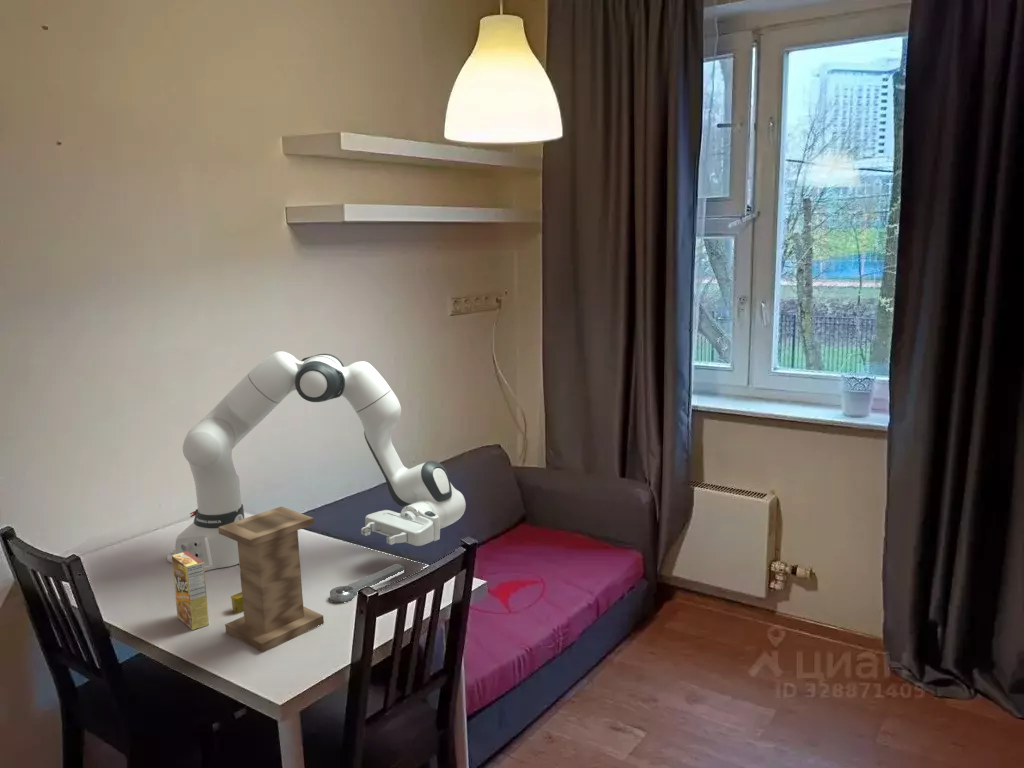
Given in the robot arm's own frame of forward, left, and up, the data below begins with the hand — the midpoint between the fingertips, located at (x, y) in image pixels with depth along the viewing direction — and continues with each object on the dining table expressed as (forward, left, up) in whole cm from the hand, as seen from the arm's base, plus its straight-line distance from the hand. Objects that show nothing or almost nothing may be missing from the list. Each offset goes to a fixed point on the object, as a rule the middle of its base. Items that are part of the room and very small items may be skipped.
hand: (375, 536), depth 207 cm
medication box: (-22, -19, -13) cm, 32 cm away
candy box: (-30, -31, -12) cm, 45 cm away
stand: (-10, -28, -12) cm, 32 cm away
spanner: (-1, -3, -12) cm, 13 cm away
